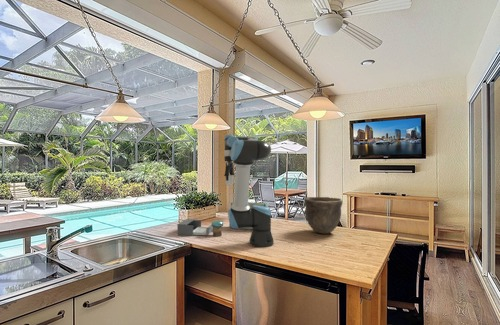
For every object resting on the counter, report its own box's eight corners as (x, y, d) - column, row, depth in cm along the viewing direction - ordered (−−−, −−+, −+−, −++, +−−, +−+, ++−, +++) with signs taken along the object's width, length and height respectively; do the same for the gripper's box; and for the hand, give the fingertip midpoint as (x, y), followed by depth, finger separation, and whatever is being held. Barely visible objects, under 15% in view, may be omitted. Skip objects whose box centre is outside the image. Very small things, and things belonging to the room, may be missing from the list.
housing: (195, 236, 188) (195, 224, 188) (177, 235, 190) (177, 224, 190) (203, 229, 207) (203, 219, 207) (187, 228, 209) (187, 218, 209)
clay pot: (309, 237, 184) (309, 200, 184) (301, 228, 210) (301, 196, 210) (348, 237, 185) (348, 200, 185) (335, 228, 210) (335, 196, 210)
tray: (207, 235, 188) (207, 228, 188) (190, 234, 190) (190, 228, 190) (213, 229, 205) (213, 223, 205) (198, 228, 207) (198, 222, 207)
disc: (221, 226, 185) (221, 223, 185) (210, 226, 186) (210, 222, 186) (224, 224, 193) (224, 220, 193) (213, 223, 194) (213, 220, 194)
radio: (229, 228, 211) (229, 196, 211) (232, 226, 218) (232, 194, 218) (266, 231, 202) (266, 197, 202) (268, 228, 210) (268, 196, 210)
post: (220, 236, 186) (220, 226, 186) (212, 236, 187) (212, 226, 187) (222, 234, 192) (222, 224, 192) (214, 234, 193) (214, 224, 193)
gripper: (231, 155, 192) (230, 185, 192) (237, 156, 216) (237, 183, 216) (220, 155, 193) (220, 185, 193) (228, 156, 217) (228, 183, 217)
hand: (229, 184), depth 204 cm, fingers open, 13 cm apart
